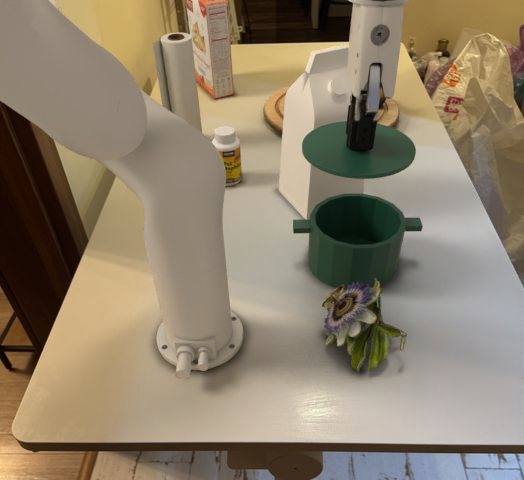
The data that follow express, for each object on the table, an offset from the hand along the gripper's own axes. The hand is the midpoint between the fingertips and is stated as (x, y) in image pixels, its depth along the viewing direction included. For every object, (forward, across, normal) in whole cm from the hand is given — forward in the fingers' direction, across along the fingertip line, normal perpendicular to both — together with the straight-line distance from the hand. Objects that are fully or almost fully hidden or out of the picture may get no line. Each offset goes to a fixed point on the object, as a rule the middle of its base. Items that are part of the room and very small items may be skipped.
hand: (359, 140), depth 71 cm
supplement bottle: (+21, +27, +21) cm, 40 cm away
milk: (+21, +20, +3) cm, 29 cm away
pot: (+21, 0, -2) cm, 21 cm away
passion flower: (+21, -18, -1) cm, 28 cm away
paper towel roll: (+21, +43, +31) cm, 57 cm away
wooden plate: (+21, +55, -2) cm, 59 cm away
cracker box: (+21, +73, +27) cm, 81 cm away
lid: (+1, 0, 0) cm, 1 cm away
